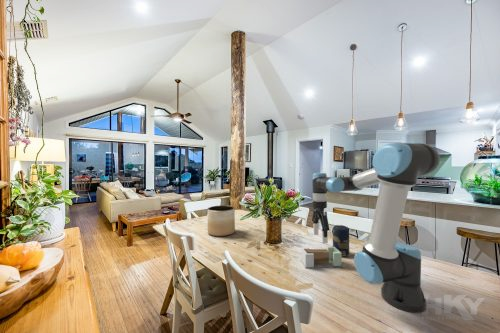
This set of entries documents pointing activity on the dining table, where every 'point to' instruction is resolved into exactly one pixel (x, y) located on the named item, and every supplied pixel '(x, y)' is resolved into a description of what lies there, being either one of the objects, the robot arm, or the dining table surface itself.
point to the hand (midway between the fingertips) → (320, 238)
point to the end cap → (335, 256)
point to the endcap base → (309, 260)
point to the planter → (221, 220)
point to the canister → (341, 239)
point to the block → (319, 256)
